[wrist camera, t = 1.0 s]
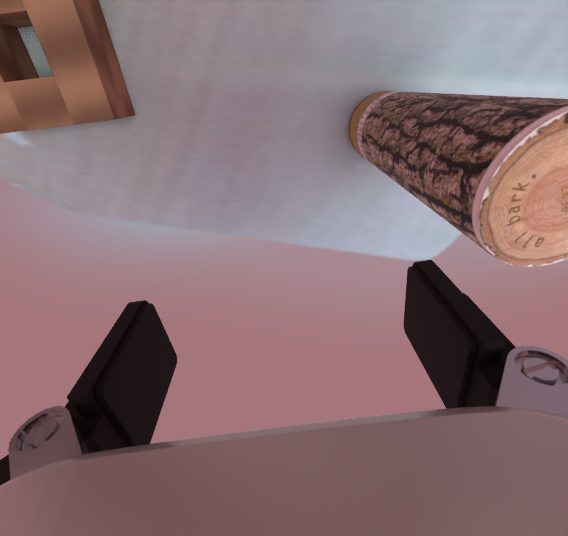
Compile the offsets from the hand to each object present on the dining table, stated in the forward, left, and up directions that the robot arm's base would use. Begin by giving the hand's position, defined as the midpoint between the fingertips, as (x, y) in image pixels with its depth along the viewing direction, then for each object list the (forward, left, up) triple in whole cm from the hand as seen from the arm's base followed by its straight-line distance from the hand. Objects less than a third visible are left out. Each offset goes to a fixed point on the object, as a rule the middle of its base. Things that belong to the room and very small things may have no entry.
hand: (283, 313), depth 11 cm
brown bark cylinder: (-2, +12, -28) cm, 31 cm away
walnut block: (-12, -20, -28) cm, 36 cm away
